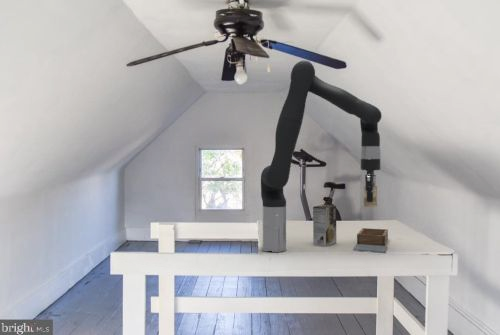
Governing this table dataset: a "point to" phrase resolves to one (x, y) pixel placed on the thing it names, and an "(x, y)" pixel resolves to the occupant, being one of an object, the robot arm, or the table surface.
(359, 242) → the walnut surround
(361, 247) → the slate mat
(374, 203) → the oak block
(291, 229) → the table surface
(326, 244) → the coffee box
